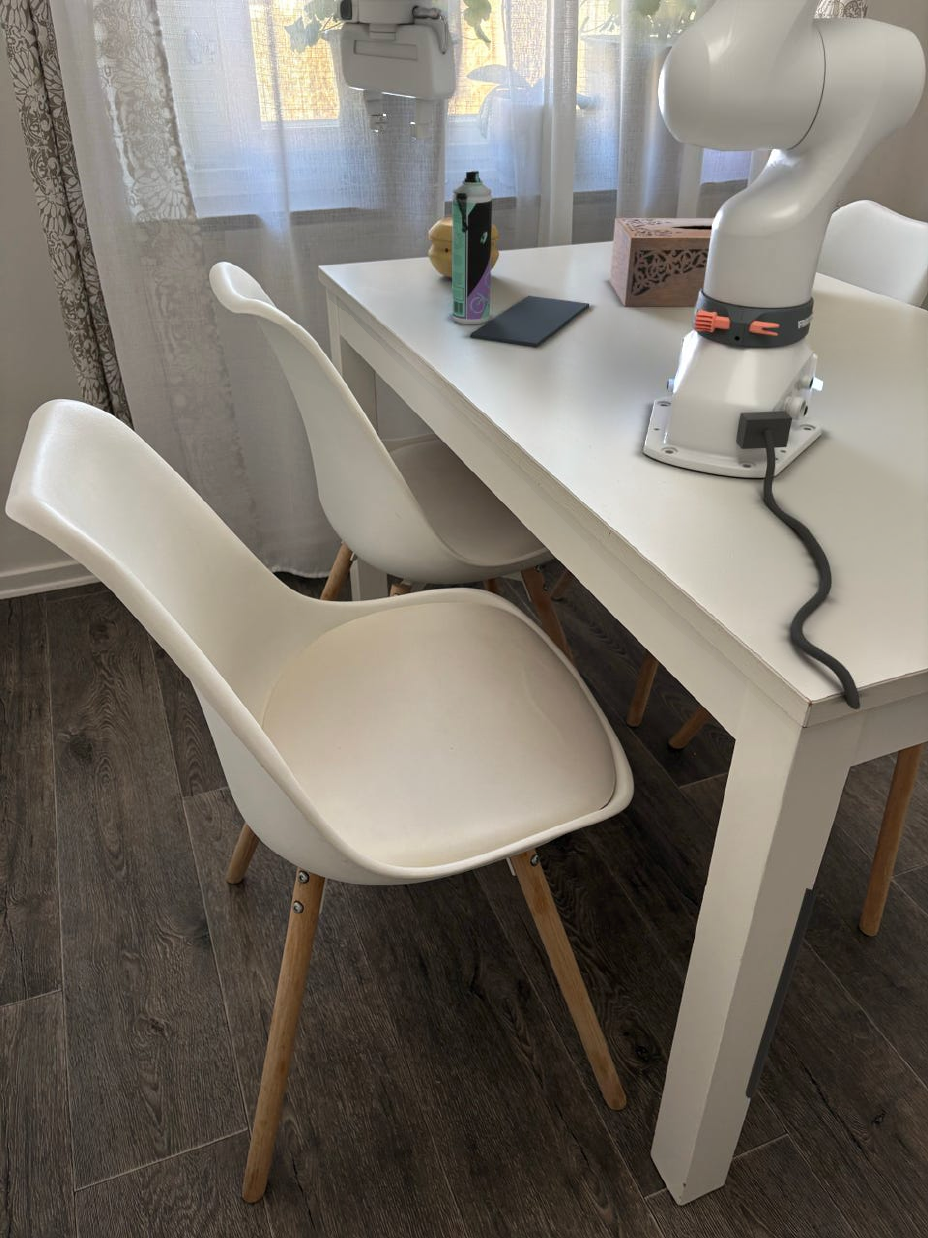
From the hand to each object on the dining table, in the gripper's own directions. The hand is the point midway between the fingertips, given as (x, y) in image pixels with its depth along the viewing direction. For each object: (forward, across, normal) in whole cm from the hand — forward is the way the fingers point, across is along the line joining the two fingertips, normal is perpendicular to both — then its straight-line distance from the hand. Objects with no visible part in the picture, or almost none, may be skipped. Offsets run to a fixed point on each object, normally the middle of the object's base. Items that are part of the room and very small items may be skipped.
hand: (399, 134), depth 123 cm
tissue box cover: (+26, -10, -50) cm, 57 cm away
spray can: (+26, 0, -12) cm, 28 cm away
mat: (+25, -6, -18) cm, 32 cm away
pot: (+26, +20, -26) cm, 42 cm away
